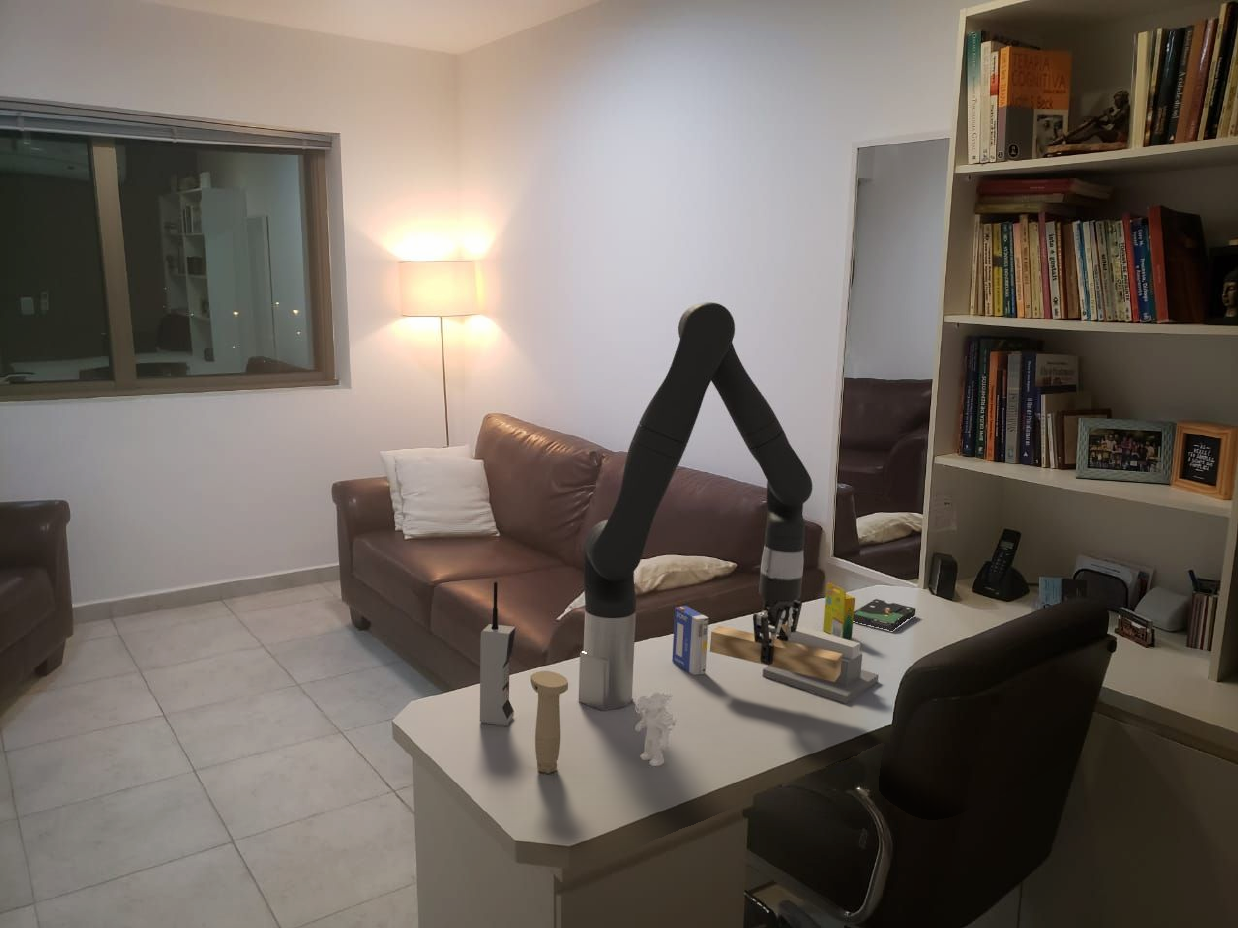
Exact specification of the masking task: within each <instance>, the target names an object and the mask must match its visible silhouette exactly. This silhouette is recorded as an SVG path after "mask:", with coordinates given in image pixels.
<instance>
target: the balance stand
mask: <svg viewBox="0 0 1238 928" xmlns="http://www.w3.org/2000/svg"><path fill="white" fill-rule="evenodd" d="M788 641H789V642H793V643H797V644H802V645H806V646H811V647H815V648H819V649H824V650H828V651H833V652H837V653H841V654H842V663H841V672H840V675H839V677H838V678H837V679H836V681H835V682H833V681H829V680H825V679H820V678H816V677H812V676H808V675H804V674H800V673H796V672H792V671H787V670H783V669H779V668H775V667H771V666H767V665H766V667H764V668H762V677H765V678H768V679H770V680H773V681H776V682H779V683H782V684H785V685H789V686H792V687H794V688H797V689H801V690H804V691H807V692H809V693H812V692H813V693H812V694H816V695H818V696H822V697H825V698H828V699H830V700H833V701H835V702H840V703H843V704H847V703H849V702H850V701H852V700H853V699H855V698H856V697H858V696H859V695H861V694H862V693H864V692H866V691H867V690H868V689H870V688H872V687H873V686H874V685H876V684H877V683H879V674H878V673H874V672H871V671H869V670H868V671H867V670H864V669H862V665H863V663H862V662H863V653H862V652H860V649H861V648H860V647H861V643H860V642H857V641H854V640H847V639H843V638H840V637H836V636H833V635H830V634H829V633H827V632H823V631H818V630H815V629H811V628H808V627H804V626H800V625H798V624H797V629H796V632H795V633H793V632H792V633H791V637H790V638H788ZM875 683H876V684H875ZM872 685H873V686H872Z"/></svg>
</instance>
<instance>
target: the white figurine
mask: <svg viewBox="0 0 1238 928" xmlns="http://www.w3.org/2000/svg"><path fill="white" fill-rule="evenodd" d="M672 698H673V695H672V694H671V693H669V694H664V693H662V694H661V693H659V692H656V693H653V694H651V696H649V698H648V697H647V695H645V696H640V697H639V698H638V699H637V700H638V701H637V703H636V704H634V705H635V706H634V709H635V711H636V713H637V714H640V713H641V712H642V711H643V713H642V714H643V717H642V718H641V720H640V721H639V722H638V723H637V724H636V725H635V732H636V731H637V732H641V731H642V729H643V728H645V727H646V726H647V727H646V729H647V731H646V733H645V734H646V735H645V740H644V745H643V746H644V752H642V753H641V754H640V759H642V760H643V761H648V760H649V766H652V767H659V766H661V765H663V764H664V763H665V759H664V758H665V757H664V756H663V752H666V751H667V749H668V747H669V740H668V739H669V737H670V731H672V730H673V729H674V728H675V726H676V724H677V718H676V717H675V716H674V714H673V713H671V712H669V711H667V708H666V707H667V706H668V704H669V703H668V701H671V700H672ZM637 709H639V710H637ZM670 726H672V727H670Z"/></svg>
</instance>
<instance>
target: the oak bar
mask: <svg viewBox="0 0 1238 928" xmlns="http://www.w3.org/2000/svg"><path fill="white" fill-rule="evenodd" d="M760 636H761V634H760ZM769 639H770V636H769ZM761 648H762V644H761V643H758V642H755V638H754V632H753V633H752V632H748V631H744V630H740V629H736V628H730V627H728V626H727V627H726V626H722V625H718V626H717V627H715V628H714V629H713V630H711V631H710V641H709V652H710V653H713V654H719V655H722V656H725V657H730V658H734V659H739V660H742V661H746V662H751V663H755V664H760V665H764V666H766V667H767V666H771V667H775V668H779V669H783V670H787V671H792V672H796V673H800V674H804V675H808V676H812V677H816V678H820V679H825V680H829V681H833V682H835V681H836V679H837V678H838V677H839V675H840V672H841V663H842V654H841V653H837V652H833V651H828V650H824V649H819V648H815V647H811V646H806V645H802V644H797V643H793V642H789V641H784V640H780V639H776V638H775V642H774V653H773V663H772V664H770V665H767V664H764V663H762V662H761V661H760V659H761Z"/></svg>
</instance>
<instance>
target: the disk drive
mask: <svg viewBox="0 0 1238 928" xmlns="http://www.w3.org/2000/svg"><path fill="white" fill-rule="evenodd" d="M914 615H915V616H916V607H912V606H911V607H910V606H907V605H902V604H900V603H899V604H898V603H895V602H890V603H887V602H886V601H885V600H882V599H878V598H875V599H873V600H871V601H870V602H868V603H867V604H865V605H862V606H861V607H859V608H858V609H856V610H854V620H853V621H855V622H858V623H862V624H866V625H871V626H874V627H879V628H883V629H887V630H889V631H893V630H894V629H895V628H897V627H898V626H899V625H901V624H902V623H903V622H905V621H906V620H907V619H910V618H911V617H913V616H914ZM893 632H894V631H893Z"/></svg>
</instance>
